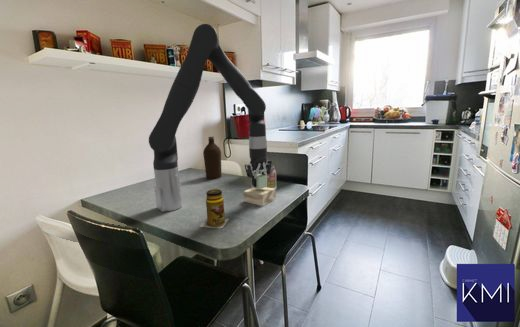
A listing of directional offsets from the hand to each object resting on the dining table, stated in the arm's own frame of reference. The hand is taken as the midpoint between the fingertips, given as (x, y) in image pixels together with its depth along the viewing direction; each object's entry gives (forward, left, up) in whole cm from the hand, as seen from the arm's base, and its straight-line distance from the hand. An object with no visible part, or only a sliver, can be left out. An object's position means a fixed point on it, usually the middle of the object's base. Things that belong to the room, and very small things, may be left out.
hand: (259, 185), depth 108 cm
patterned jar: (+12, +8, -7) cm, 16 cm away
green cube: (0, 0, -1) cm, 1 cm away
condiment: (-27, -6, -7) cm, 29 cm away
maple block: (0, 0, -7) cm, 7 cm away
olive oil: (+8, +52, -7) cm, 53 cm away
